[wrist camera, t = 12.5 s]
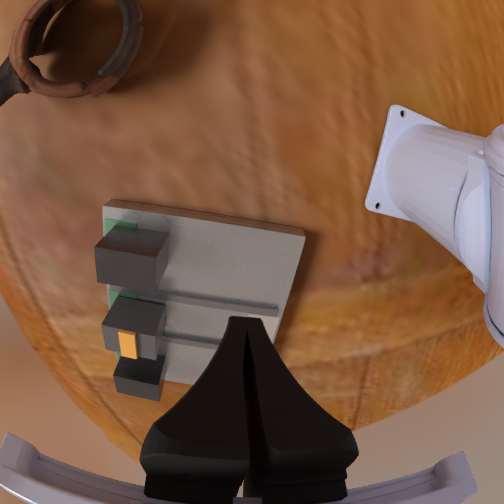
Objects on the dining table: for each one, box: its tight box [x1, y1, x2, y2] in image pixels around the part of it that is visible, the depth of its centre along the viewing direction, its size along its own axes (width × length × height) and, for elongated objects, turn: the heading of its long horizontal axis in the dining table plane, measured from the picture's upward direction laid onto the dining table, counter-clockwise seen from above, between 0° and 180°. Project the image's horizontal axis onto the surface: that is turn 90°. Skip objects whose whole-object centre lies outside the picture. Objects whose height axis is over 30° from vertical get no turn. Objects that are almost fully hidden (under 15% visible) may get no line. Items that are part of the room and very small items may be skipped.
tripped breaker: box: [102, 296, 165, 360], centre depth 20 cm, size 4×2×4 cm, turn 79°
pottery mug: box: [0, 0, 145, 106], centre depth 12 cm, size 12×10×8 cm
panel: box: [94, 199, 306, 401], centre depth 22 cm, size 14×17×5 cm
